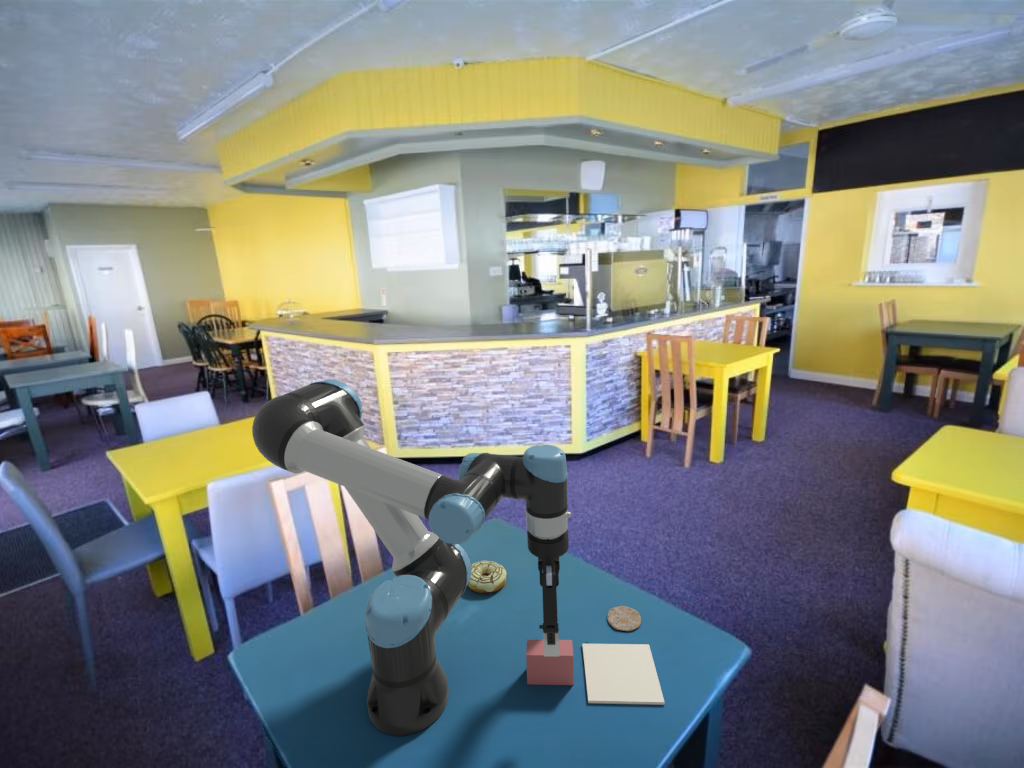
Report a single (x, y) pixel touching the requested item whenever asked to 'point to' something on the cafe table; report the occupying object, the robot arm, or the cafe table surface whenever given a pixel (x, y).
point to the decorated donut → (487, 576)
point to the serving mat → (621, 674)
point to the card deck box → (549, 664)
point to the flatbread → (624, 618)
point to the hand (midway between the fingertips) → (550, 627)
